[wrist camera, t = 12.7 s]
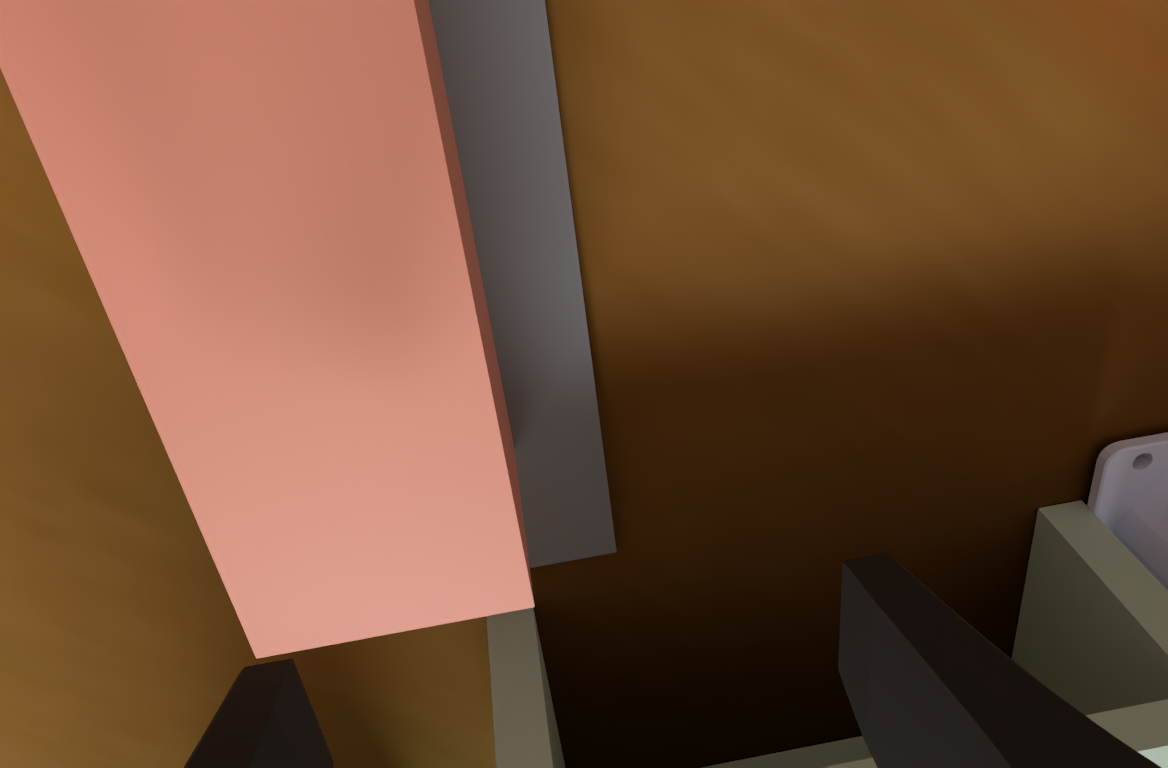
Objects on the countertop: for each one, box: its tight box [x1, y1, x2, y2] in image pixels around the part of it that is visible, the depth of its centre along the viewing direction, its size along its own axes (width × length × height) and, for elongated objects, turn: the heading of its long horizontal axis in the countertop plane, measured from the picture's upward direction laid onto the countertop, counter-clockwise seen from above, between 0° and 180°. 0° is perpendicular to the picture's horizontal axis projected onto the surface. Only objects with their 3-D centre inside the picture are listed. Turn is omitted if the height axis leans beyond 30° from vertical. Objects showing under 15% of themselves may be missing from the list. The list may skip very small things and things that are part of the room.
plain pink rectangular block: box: [0, 0, 535, 659], centre depth 15 cm, size 5×13×5 cm, turn 7°
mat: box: [429, 0, 617, 568], centre depth 18 cm, size 9×18×1 cm, turn 7°
